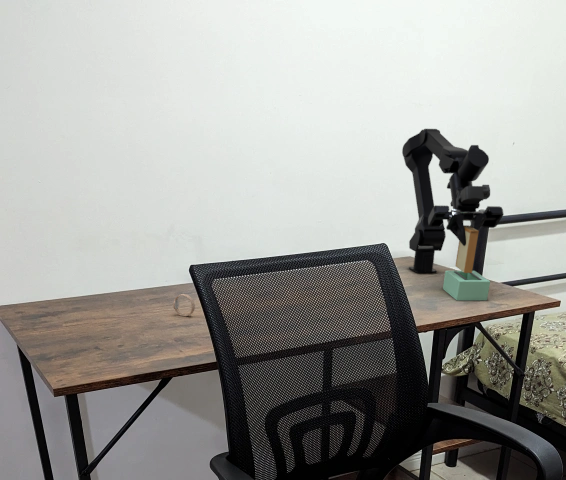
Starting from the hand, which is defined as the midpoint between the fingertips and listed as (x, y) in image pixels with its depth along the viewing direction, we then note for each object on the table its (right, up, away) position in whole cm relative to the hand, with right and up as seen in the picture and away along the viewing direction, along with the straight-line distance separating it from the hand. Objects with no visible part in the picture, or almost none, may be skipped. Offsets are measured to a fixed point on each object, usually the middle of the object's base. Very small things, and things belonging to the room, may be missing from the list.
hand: (469, 244), depth 187 cm
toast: (0, -5, +5) cm, 7 cm away
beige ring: (-72, -23, -16) cm, 77 cm away
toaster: (+1, -10, +9) cm, 14 cm away
